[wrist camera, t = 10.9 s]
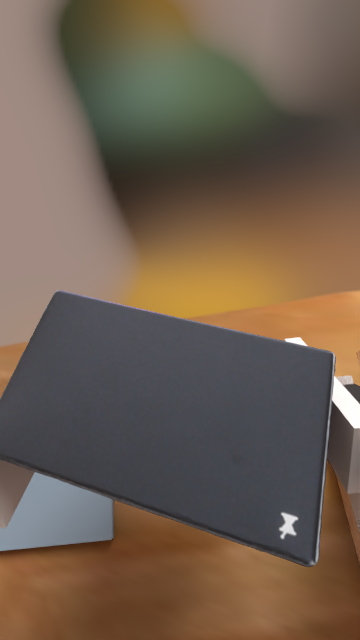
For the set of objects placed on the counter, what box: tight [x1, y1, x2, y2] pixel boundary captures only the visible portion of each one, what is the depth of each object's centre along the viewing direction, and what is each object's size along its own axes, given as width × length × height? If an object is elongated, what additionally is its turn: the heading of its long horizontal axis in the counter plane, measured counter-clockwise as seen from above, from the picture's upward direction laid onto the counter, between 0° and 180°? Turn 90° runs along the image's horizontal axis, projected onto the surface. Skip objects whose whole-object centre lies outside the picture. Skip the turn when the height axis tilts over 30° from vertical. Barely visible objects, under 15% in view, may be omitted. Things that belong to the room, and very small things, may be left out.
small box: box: [0, 290, 336, 567], centre depth 15 cm, size 11×6×10 cm, turn 74°
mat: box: [0, 472, 114, 551], centre depth 28 cm, size 10×13×1 cm
